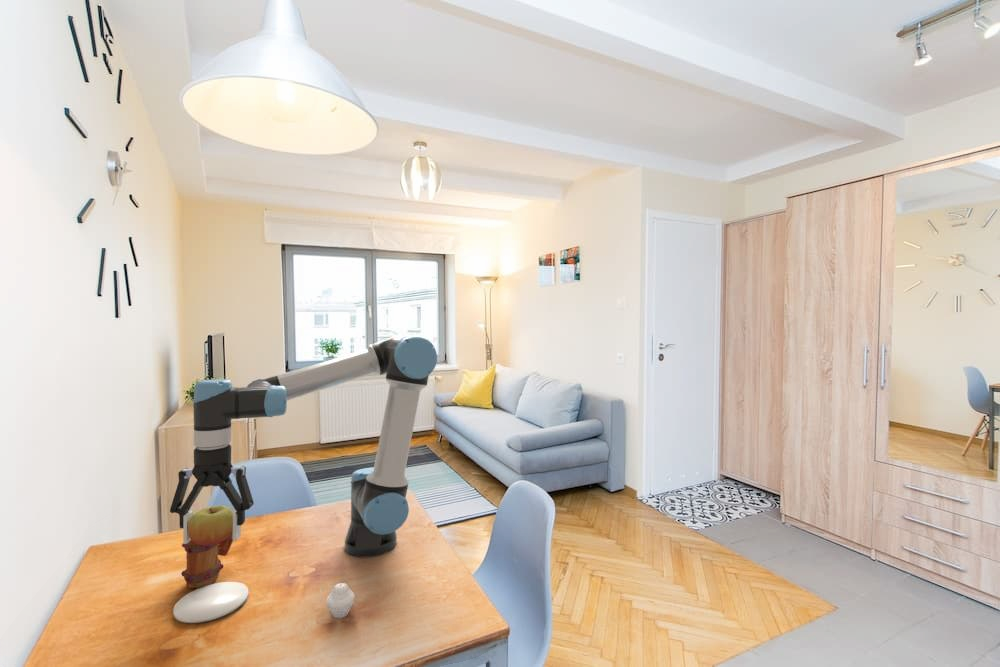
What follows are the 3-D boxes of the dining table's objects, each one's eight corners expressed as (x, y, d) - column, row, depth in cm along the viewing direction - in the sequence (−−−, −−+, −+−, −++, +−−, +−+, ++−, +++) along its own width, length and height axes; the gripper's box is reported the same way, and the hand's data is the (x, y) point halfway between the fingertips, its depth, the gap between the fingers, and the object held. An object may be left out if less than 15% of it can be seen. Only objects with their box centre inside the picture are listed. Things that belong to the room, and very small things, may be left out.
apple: (182, 554, 102) (183, 518, 101) (192, 535, 110) (192, 502, 110) (233, 546, 106) (234, 511, 105) (238, 529, 114) (238, 497, 114)
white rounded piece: (332, 605, 109) (332, 576, 109) (358, 606, 109) (358, 576, 108) (321, 622, 103) (321, 591, 102) (348, 623, 102) (349, 592, 102)
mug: (200, 595, 112) (200, 534, 112) (172, 591, 114) (172, 531, 113) (245, 565, 126) (245, 511, 126) (219, 561, 128) (219, 508, 128)
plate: (258, 585, 117) (258, 579, 117) (232, 622, 102) (232, 616, 102) (194, 589, 115) (194, 583, 115) (158, 628, 100) (158, 622, 100)
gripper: (269, 440, 113) (269, 530, 113) (169, 442, 110) (169, 535, 110) (257, 448, 106) (257, 544, 106) (150, 451, 102) (150, 550, 103)
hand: (212, 539), depth 108 cm, fingers closed on apple, 10 cm apart
